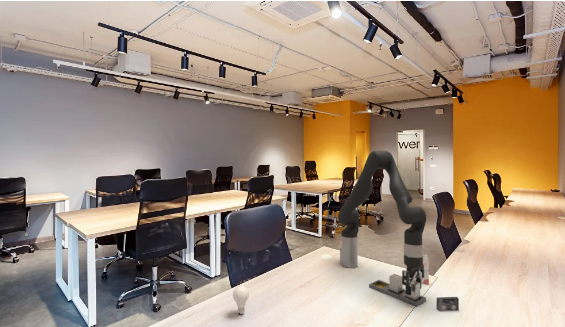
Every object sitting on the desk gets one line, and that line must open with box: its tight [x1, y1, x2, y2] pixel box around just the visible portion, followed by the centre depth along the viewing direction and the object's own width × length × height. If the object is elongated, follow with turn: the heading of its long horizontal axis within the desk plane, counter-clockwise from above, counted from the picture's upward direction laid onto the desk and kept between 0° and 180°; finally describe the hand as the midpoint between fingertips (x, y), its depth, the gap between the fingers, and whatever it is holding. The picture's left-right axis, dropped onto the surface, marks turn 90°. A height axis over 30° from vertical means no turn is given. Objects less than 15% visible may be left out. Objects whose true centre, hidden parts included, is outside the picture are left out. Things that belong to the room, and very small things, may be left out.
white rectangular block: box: [406, 281, 421, 302], centre depth 120 cm, size 4×4×8 cm
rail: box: [368, 279, 427, 308], centre depth 126 cm, size 23×8×2 cm, turn 37°
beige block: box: [388, 273, 404, 295], centre depth 126 cm, size 4×4×8 cm
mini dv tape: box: [435, 296, 460, 312], centre depth 113 cm, size 8×2×6 cm, turn 92°
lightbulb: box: [232, 285, 250, 315], centre depth 113 cm, size 6×6×11 cm
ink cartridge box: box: [410, 254, 430, 286], centre depth 138 cm, size 9×5×15 cm, turn 105°
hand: (413, 291), depth 120 cm, fingers open, 8 cm apart
